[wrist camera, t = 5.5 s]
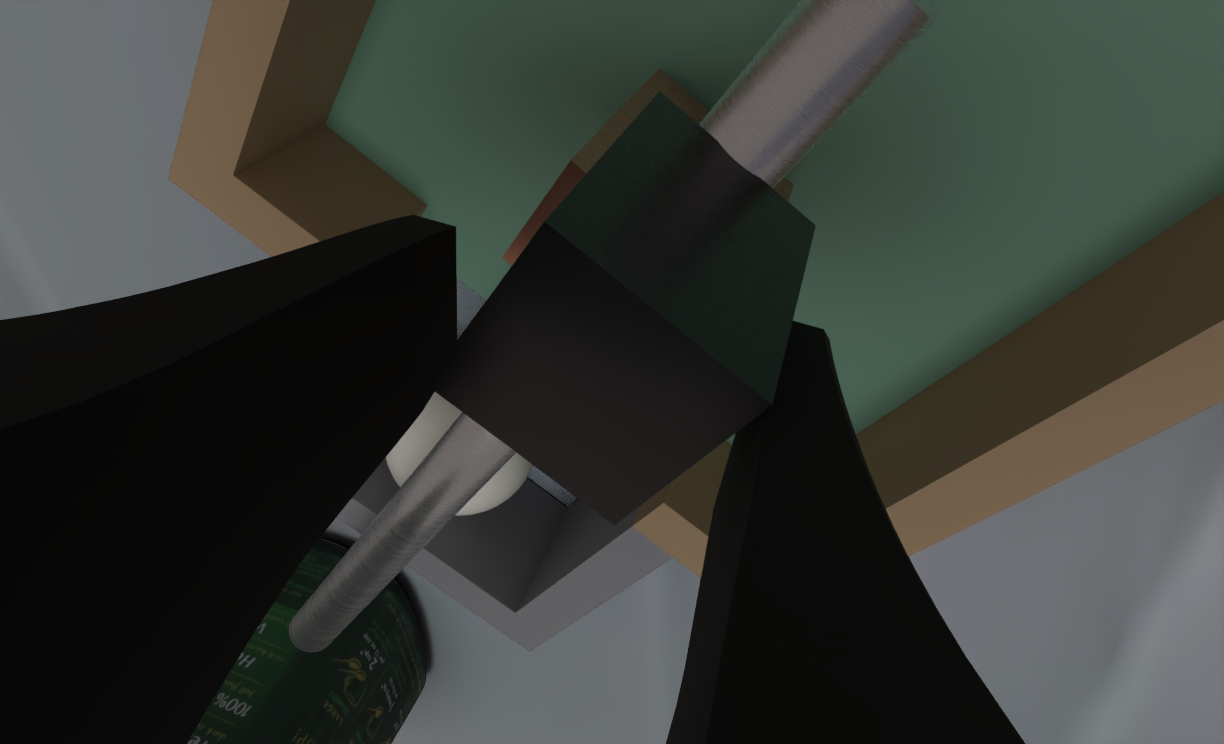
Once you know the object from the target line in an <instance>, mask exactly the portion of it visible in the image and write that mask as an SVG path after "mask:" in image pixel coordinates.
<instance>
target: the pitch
mask: <svg viewBox="0 0 1224 744" xmlns="http://www.w3.org/2000/svg"><path fill="white" fill-rule="evenodd" d="M800 1H801V0H213V2H212V6H211V10H210V14H209V18H208V22H207V26H206V30H205V34H204V38H203V42H202V46H201V50H200V54H199V58H198V62H197V66H196V70H195V74H194V78H193V82H192V86H191V90H190V94H189V98H188V102H187V106H186V110H185V114H184V118H183V122H182V126H181V130H180V134H179V138H178V142H177V146H176V150H175V154H174V158H173V162H172V166H171V170H170V174H169V178H168V179H169V180H170V181H171V182H173V183H174V184H175V185H177V186H178V187H180V188H181V189H182V190H184V191H185V192H186V193H188V194H189V195H190V196H192V197H193V198H194V199H196V200H197V201H198V202H200V203H201V204H202V205H204V206H205V207H206V208H208V209H209V210H210V211H212V212H213V213H214V214H216V215H217V216H218V217H220V218H221V219H222V220H224V221H225V222H226V223H228V224H229V225H230V226H232V227H233V228H234V229H236V230H237V231H238V232H240V233H241V234H242V235H244V236H245V237H246V238H248V239H249V240H250V241H252V242H253V243H254V244H256V245H257V246H258V247H260V248H261V249H262V250H264V251H265V252H266V253H268V254H269V255H270V256H272V257H273V256H276V255H279V254H282V253H285V252H289V251H292V250H295V249H298V248H301V247H304V246H307V245H310V244H314V243H317V242H320V241H323V240H326V239H329V238H332V237H335V236H338V235H341V234H344V233H348V232H351V231H354V230H357V229H360V228H363V227H367V226H370V225H373V224H377V223H380V222H384V221H387V220H391V219H395V218H399V217H404V216H409V215H416V216H420V217H424V218H427V219H431V220H434V221H438V222H442V223H445V224H449V225H452V226H456V271H457V278H458V279H459V280H460V281H462V282H463V283H464V284H466V285H467V286H468V287H469V288H471V289H472V290H473V291H475V292H476V293H477V294H478V295H480V296H481V297H482V298H484V299H485V300H486V301H487V299H488V298H489V297H490V295H491V294H492V292H493V291H494V290H495V288H496V287H497V286H498V284H499V283H500V281H501V280H502V279H503V277H504V276H505V275H506V273H507V272H508V270H509V269H510V268H511V266H512V265H511V264H510V263H508V262H507V261H506V260H505V259H503V258H502V256H503V255H504V254H505V252H506V251H507V249H508V248H509V247H510V245H511V244H512V242H513V241H514V240H515V238H516V237H517V235H518V234H519V232H520V231H521V230H522V228H523V227H524V225H525V224H526V223H527V221H528V220H529V218H530V217H531V216H532V214H533V213H534V211H535V210H536V208H537V207H538V206H539V204H540V203H541V201H542V200H543V199H544V197H545V196H546V194H547V193H548V192H549V190H550V189H551V187H552V186H553V184H554V183H555V182H556V180H557V179H558V177H559V176H560V175H561V173H562V172H563V170H564V169H565V168H566V166H567V165H568V163H569V162H570V161H571V159H572V158H573V157H574V156H575V155H576V154H577V153H578V152H579V151H580V150H581V149H582V148H583V147H584V146H585V145H586V144H587V143H588V142H589V141H590V140H591V139H592V138H593V136H594V135H595V134H596V133H597V132H598V131H599V130H600V129H601V128H602V127H603V126H604V125H605V124H606V123H607V122H608V121H609V120H610V119H611V118H612V117H613V116H614V115H615V114H616V113H617V111H618V110H619V109H620V108H621V107H622V106H623V105H624V104H625V103H626V102H627V101H628V100H629V99H630V98H631V97H632V96H633V95H634V94H635V93H636V92H637V91H638V90H639V89H640V88H641V86H642V85H643V84H644V83H645V82H646V81H647V80H648V79H649V78H650V77H651V76H652V75H653V74H654V73H655V72H656V71H657V70H658V69H659V68H660V69H661V70H662V71H663V72H665V73H666V74H667V75H668V76H669V77H670V78H672V79H673V80H674V81H675V82H676V83H677V84H678V85H680V86H681V87H682V88H683V89H684V90H685V91H687V92H688V93H689V94H690V95H691V96H692V97H693V98H695V99H696V100H697V101H698V102H699V103H700V104H702V105H703V106H704V107H705V108H706V109H707V110H708V111H710V110H711V109H712V108H713V106H714V105H715V104H716V103H717V102H718V100H719V99H720V98H721V97H722V96H723V94H724V93H725V92H726V91H727V89H728V88H729V87H730V86H731V85H732V83H733V82H734V81H735V80H736V79H737V77H738V76H739V75H740V74H741V72H742V71H743V70H744V69H745V68H746V66H747V65H748V64H749V63H750V62H751V60H752V59H753V58H754V57H755V55H756V54H757V53H758V52H759V51H760V49H761V48H762V47H763V46H764V44H765V43H766V42H767V41H768V40H769V38H770V37H771V36H772V35H773V34H774V32H775V31H776V30H777V29H778V27H779V26H780V25H781V24H782V23H783V21H784V20H785V19H786V18H787V17H788V15H789V14H790V13H791V12H792V10H793V9H794V8H795V7H796V6H797V4H798V3H799V2H800ZM927 1H928V2H929V4H930V5H931V6H932V8H933V9H934V11H935V12H936V14H937V17H938V20H937V21H936V22H935V23H934V24H933V25H932V26H931V27H930V28H929V29H928V30H927V31H926V32H925V33H924V34H923V35H922V36H921V37H920V38H919V39H918V40H917V41H916V42H915V43H914V44H913V45H912V46H911V47H910V49H909V50H908V51H907V52H906V53H905V54H904V55H903V56H902V57H901V58H900V59H899V60H898V61H897V62H896V63H895V64H894V65H893V66H892V67H891V68H890V69H889V70H888V71H887V72H886V73H885V74H884V75H883V76H882V77H881V78H880V79H879V80H878V81H877V82H876V83H875V84H874V85H873V87H872V88H871V89H870V90H869V91H868V92H867V93H866V94H865V95H864V96H863V97H862V98H861V99H860V100H859V101H858V102H857V103H856V104H855V105H854V106H853V107H852V108H851V109H850V110H849V111H848V112H847V113H846V114H845V115H844V116H843V117H842V118H841V119H840V120H839V121H838V122H837V123H836V125H835V126H834V127H833V128H832V129H831V130H830V131H829V132H828V133H827V134H826V135H825V136H824V137H823V138H822V139H821V140H820V141H819V142H818V143H817V144H816V145H815V146H814V147H813V148H812V149H811V150H810V151H809V152H808V153H807V154H806V155H805V156H804V157H803V158H802V159H801V160H800V161H799V163H798V164H797V165H796V166H795V167H794V168H793V169H792V170H791V171H790V172H789V173H788V174H787V175H786V176H785V177H786V178H787V179H788V180H789V181H790V182H791V183H793V184H794V186H793V189H792V192H791V195H790V198H789V201H788V202H789V203H790V204H792V205H793V206H794V207H795V208H796V209H797V210H798V211H800V212H801V213H802V214H803V215H804V216H805V217H807V218H808V219H809V220H810V221H811V222H812V223H814V224H815V225H816V227H815V231H814V235H813V239H812V244H811V248H810V252H809V256H808V260H807V264H806V268H805V272H804V277H803V281H802V285H801V289H800V293H799V297H798V301H797V305H796V309H795V314H794V318H793V321H796V322H800V323H803V324H807V325H810V326H814V327H818V328H821V329H824V330H825V332H826V334H827V336H828V338H829V339H830V344H831V350H832V355H833V360H834V364H835V368H836V372H837V376H838V380H839V384H840V387H841V391H842V394H843V397H844V401H845V404H846V407H847V411H848V414H849V417H850V420H851V423H852V426H853V428H854V431H855V434H856V436H857V439H858V442H859V445H860V447H861V450H862V453H863V456H864V458H865V461H866V464H867V466H868V469H869V471H870V474H871V476H872V479H873V481H874V483H875V486H876V488H877V491H878V493H879V495H880V497H881V500H882V502H883V504H884V506H885V508H886V511H887V513H888V515H889V517H890V520H891V522H892V524H893V526H894V528H895V530H896V532H897V534H898V536H899V539H900V541H901V543H902V545H903V547H904V549H905V551H906V553H907V555H908V556H910V555H912V554H914V553H916V552H919V551H921V550H923V549H925V548H927V547H929V546H931V545H933V544H935V543H937V542H939V541H941V540H943V539H945V538H947V537H949V536H951V535H953V534H955V533H957V532H959V531H961V530H963V529H965V528H967V527H969V526H971V525H973V524H975V523H977V522H979V521H981V520H983V519H985V518H987V517H989V516H991V515H993V514H995V513H997V512H999V511H1001V510H1003V509H1005V508H1007V507H1009V506H1011V505H1013V504H1016V503H1018V502H1020V501H1022V500H1024V499H1026V498H1028V497H1030V496H1032V495H1034V494H1036V493H1038V492H1040V491H1042V490H1044V489H1046V488H1048V487H1050V486H1052V485H1054V484H1056V483H1058V482H1060V481H1062V480H1064V479H1066V478H1068V477H1070V476H1072V475H1074V474H1076V473H1078V472H1080V471H1082V470H1084V469H1086V468H1088V467H1090V466H1092V465H1094V464H1096V463H1098V462H1100V461H1102V460H1104V459H1106V458H1108V457H1110V456H1112V455H1115V454H1117V453H1119V452H1121V451H1123V450H1125V449H1127V448H1129V447H1131V446H1133V445H1135V444H1137V443H1139V442H1141V441H1143V440H1145V439H1147V438H1149V437H1151V436H1153V435H1155V434H1157V433H1159V432H1161V431H1163V430H1165V429H1167V428H1169V427H1171V426H1173V425H1175V424H1177V423H1179V422H1181V421H1183V420H1185V419H1187V418H1189V417H1191V416H1193V415H1195V414H1197V413H1199V412H1201V411H1203V410H1205V409H1207V408H1209V407H1211V406H1214V405H1216V404H1218V403H1220V402H1222V401H1224V0H927ZM734 437H735V434H734V435H732V436H731V437H730V438H728V439H727V440H726V441H724V442H723V443H722V444H721V445H719V446H718V447H717V448H715V449H714V450H713V451H711V452H710V453H709V454H707V455H706V456H705V457H703V458H702V459H701V460H700V461H698V462H697V463H696V464H694V465H693V466H692V467H690V468H689V469H688V470H686V471H685V472H684V473H683V474H681V475H680V476H679V477H677V478H676V479H675V480H673V481H672V482H671V483H669V484H668V485H667V486H665V487H664V488H663V489H662V490H660V491H659V492H658V493H656V494H655V495H654V496H652V497H651V498H650V499H648V500H647V501H646V502H645V503H643V504H642V505H641V506H639V507H638V508H637V509H635V510H634V511H633V512H631V513H630V514H629V515H627V516H626V517H625V518H624V519H622V520H621V521H620V522H618V523H617V524H616V525H613V524H612V523H610V522H609V521H608V520H606V519H605V518H604V517H602V516H601V515H600V514H598V513H597V512H596V511H594V510H593V509H592V508H590V507H589V506H588V505H586V504H585V503H584V502H582V501H581V500H580V499H577V500H576V501H575V502H574V503H573V504H571V505H570V506H569V507H568V508H567V507H565V506H564V505H563V504H561V503H560V502H559V501H557V500H556V499H555V498H553V497H552V496H551V495H549V494H548V493H546V492H545V491H544V490H542V489H541V488H540V487H538V486H537V485H536V484H534V483H533V482H532V481H530V480H529V479H528V478H526V480H525V482H524V483H523V484H522V486H521V487H520V488H519V489H518V490H517V491H516V492H515V493H514V494H513V495H512V496H511V497H510V498H509V499H507V500H506V501H504V502H503V503H501V504H500V505H498V506H496V507H494V508H492V509H490V510H487V511H485V512H481V513H477V514H472V515H460V516H456V515H455V516H454V517H453V518H452V519H451V520H450V521H449V522H448V523H447V524H446V525H445V526H444V527H443V528H442V529H441V530H440V531H439V532H438V533H437V534H436V535H435V536H434V537H433V538H432V539H431V540H430V541H429V542H428V544H427V545H426V546H425V547H424V548H423V549H422V550H421V551H420V552H419V553H418V554H417V555H416V556H415V557H414V558H413V559H412V560H411V561H410V562H409V563H408V564H407V565H406V566H408V567H409V568H411V569H412V570H413V571H415V572H416V573H418V574H419V575H421V576H422V577H423V578H425V579H426V580H428V581H429V582H431V583H432V584H433V585H435V586H436V587H438V588H439V589H441V590H442V591H443V592H445V593H446V594H448V595H449V596H451V597H452V598H453V599H455V600H456V601H458V602H459V603H461V604H462V605H463V606H465V607H466V608H468V609H469V610H471V611H472V612H473V613H475V614H476V615H478V616H479V617H481V618H482V619H483V620H485V621H486V622H488V623H489V624H491V625H492V626H493V627H495V628H496V629H498V630H499V631H501V632H502V633H503V634H505V635H506V636H508V637H509V638H511V639H512V640H513V641H515V642H516V643H518V644H519V645H521V646H522V647H523V648H525V649H526V650H528V651H529V652H530V651H531V650H533V649H534V648H536V647H537V646H539V645H540V644H542V643H543V642H545V641H546V640H548V639H549V638H551V637H553V636H554V635H556V634H557V633H559V632H560V631H562V630H563V629H565V628H566V627H568V626H569V625H571V624H572V623H574V622H575V621H577V620H578V619H580V618H581V617H583V616H585V615H586V614H588V613H589V612H591V611H592V610H594V609H595V608H597V607H598V606H600V605H601V604H603V603H604V602H606V601H607V600H609V599H610V598H612V597H613V596H615V595H617V594H618V593H620V592H621V591H623V590H624V589H626V588H627V587H629V586H630V585H632V584H633V583H635V582H636V581H638V580H639V579H641V578H642V577H644V576H646V575H647V574H649V573H650V572H652V571H653V570H655V569H656V568H658V567H659V566H661V565H662V564H664V563H665V562H667V561H668V560H670V559H671V558H673V557H674V558H675V559H676V560H678V561H679V562H680V563H682V564H683V565H684V566H686V567H687V568H688V569H690V570H691V571H692V572H694V573H695V574H696V575H698V576H699V577H700V578H701V575H702V569H703V563H704V558H705V552H706V547H707V541H708V536H709V530H710V525H711V519H712V514H713V508H714V504H715V501H716V498H717V494H718V491H719V487H720V484H721V481H722V477H723V474H724V470H725V467H726V464H727V460H728V457H729V453H730V450H731V447H732V443H733V440H734ZM399 488H400V487H399V485H398V484H397V483H396V481H395V479H394V478H393V476H392V474H391V472H390V469H389V467H388V465H387V461H386V458H385V459H384V460H383V461H382V462H381V464H380V465H379V466H378V467H377V468H376V470H375V471H374V472H373V473H372V475H371V476H370V477H369V478H368V479H367V481H366V482H365V483H364V484H363V485H362V487H361V488H360V489H359V490H358V491H357V493H356V494H355V495H354V496H353V498H352V499H351V500H350V501H349V502H348V504H347V505H346V506H345V507H344V508H343V510H342V511H341V512H340V513H339V515H338V516H337V517H338V518H339V519H341V520H342V521H343V522H345V523H346V524H348V525H349V526H351V527H352V528H353V529H355V530H356V531H358V532H359V533H361V534H362V533H363V532H364V531H365V530H366V528H367V527H368V526H369V525H370V524H371V522H372V521H373V520H374V519H375V518H376V516H377V515H378V514H379V513H380V511H381V510H382V509H383V508H384V507H385V505H386V504H387V503H388V502H389V501H390V499H391V498H392V497H393V496H394V494H395V493H396V492H397V491H398V490H399Z"/></svg>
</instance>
